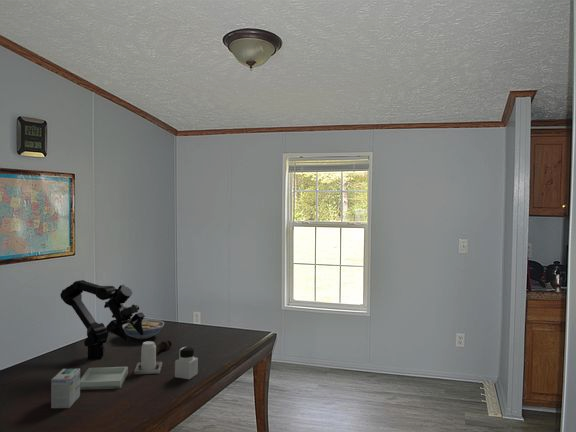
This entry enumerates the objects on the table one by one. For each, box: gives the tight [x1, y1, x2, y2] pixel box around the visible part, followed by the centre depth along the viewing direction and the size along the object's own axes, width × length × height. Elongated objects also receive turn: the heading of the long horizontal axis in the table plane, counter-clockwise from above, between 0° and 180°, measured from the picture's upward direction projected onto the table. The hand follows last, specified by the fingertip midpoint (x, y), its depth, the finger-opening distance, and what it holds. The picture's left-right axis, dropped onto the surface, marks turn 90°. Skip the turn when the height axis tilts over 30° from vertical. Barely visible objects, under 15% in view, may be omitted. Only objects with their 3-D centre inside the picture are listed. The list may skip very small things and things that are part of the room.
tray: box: [80, 366, 129, 391], centre depth 192 cm, size 16×16×3 cm
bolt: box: [155, 340, 173, 357], centre depth 231 cm, size 6×5×15 cm
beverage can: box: [140, 340, 157, 370], centre depth 206 cm, size 6×6×12 cm
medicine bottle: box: [174, 346, 199, 380], centre depth 199 cm, size 7×7×12 cm
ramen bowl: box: [123, 318, 165, 340], centre depth 254 cm, size 25×23×8 cm
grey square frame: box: [133, 361, 163, 375], centre depth 206 cm, size 11×11×2 cm
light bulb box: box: [50, 368, 81, 409], centre depth 171 cm, size 11×7×11 cm, turn 5°
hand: (135, 337), depth 209 cm, fingers open, 9 cm apart
